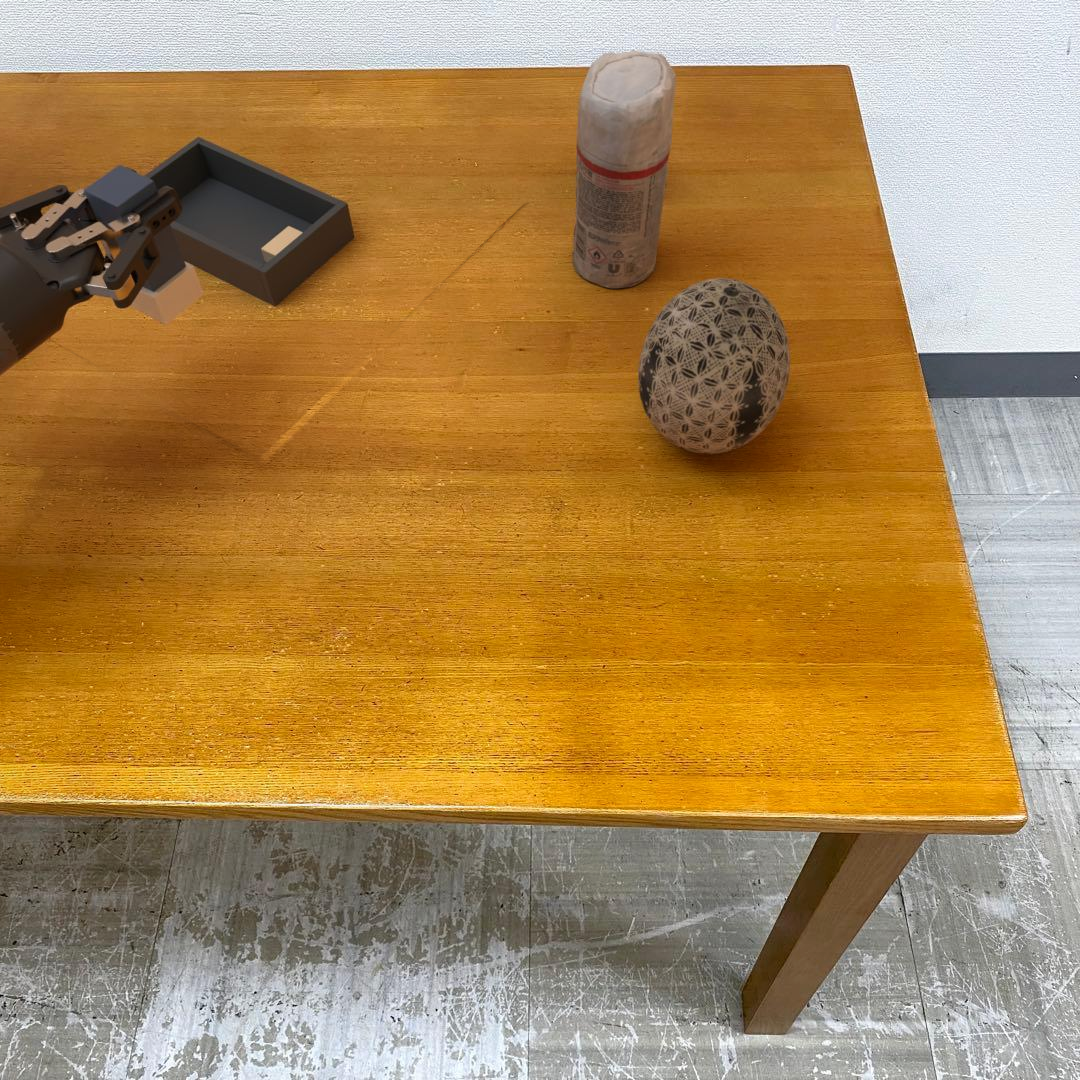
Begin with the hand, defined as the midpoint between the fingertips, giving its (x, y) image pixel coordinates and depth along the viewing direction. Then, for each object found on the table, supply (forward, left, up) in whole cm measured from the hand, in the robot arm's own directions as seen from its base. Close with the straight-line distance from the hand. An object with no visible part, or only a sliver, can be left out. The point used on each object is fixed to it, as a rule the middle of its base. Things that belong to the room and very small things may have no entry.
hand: (154, 188), depth 77 cm
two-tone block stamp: (0, -3, -9) cm, 9 cm away
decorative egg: (+41, +16, -18) cm, 47 cm away
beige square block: (-3, +13, -17) cm, 22 cm away
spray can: (+24, +30, -18) cm, 42 cm away
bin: (-9, +13, -18) cm, 24 cm away
